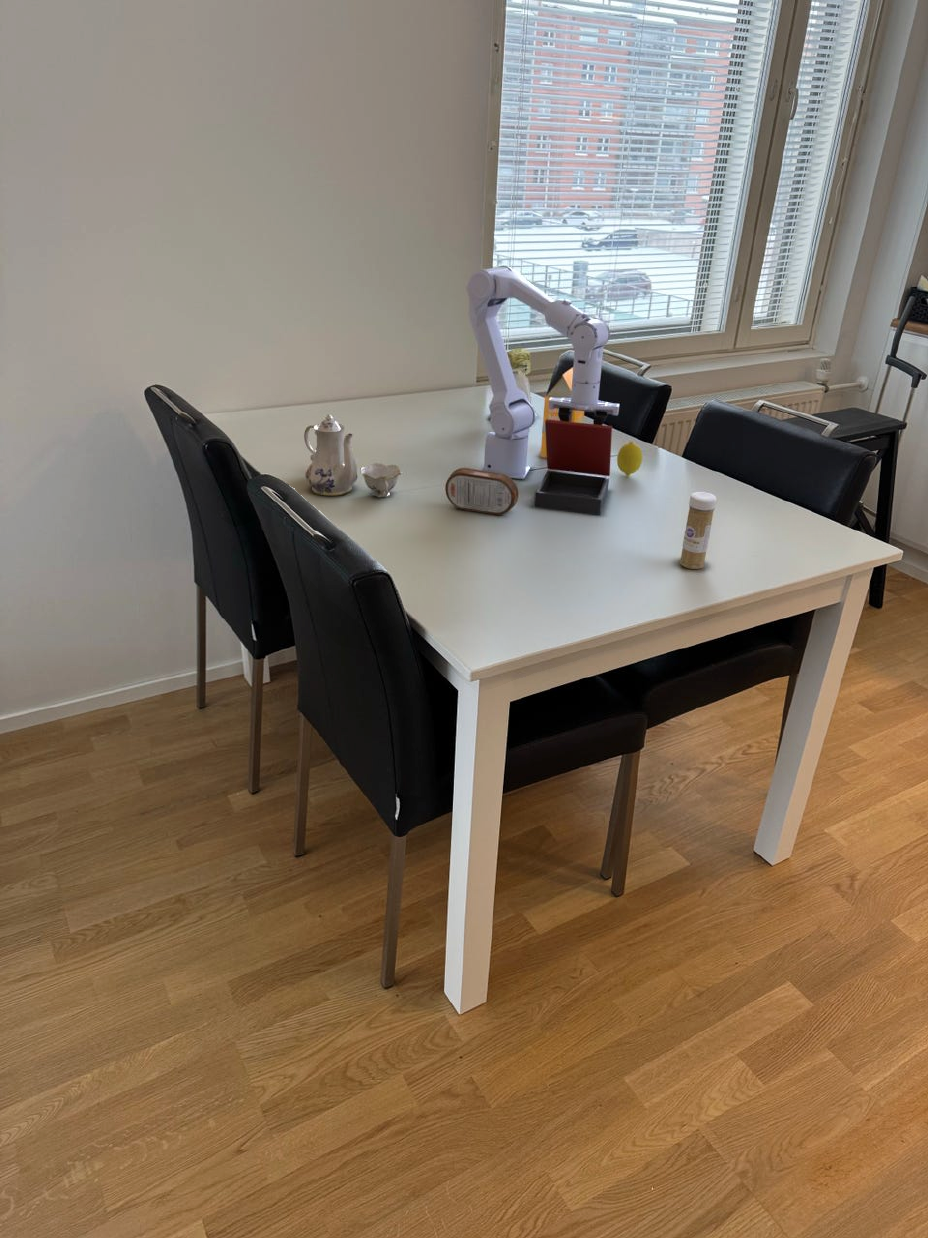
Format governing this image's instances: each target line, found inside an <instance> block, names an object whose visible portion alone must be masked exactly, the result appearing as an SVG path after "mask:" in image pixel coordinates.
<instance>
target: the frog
mask: <svg viewBox="0 0 928 1238" xmlns="http://www.w3.org/2000/svg"><path fill="white" fill-rule="evenodd" d="M507 355H508V358H509V362H510V365H511V368H512V371H513V375H514V378H515V381H516V385H517V387H518V388H519V389H520V390H521V391H523V392H524V393H525V394H526V396H527V399H528V401H529V403H530V404H531V405H532V397H531V387H530V381H529V379H528V377H527V376H526V375H528V374H530V373H531V372H532V363H531V352H530V351H529V350H528V349H526V348H513V349H511V350H509V351H507ZM535 414H536V417H538V416H539V414H538V413H537V412H536V410H535ZM489 416H490V417H491V412H490V413H489Z"/></svg>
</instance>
